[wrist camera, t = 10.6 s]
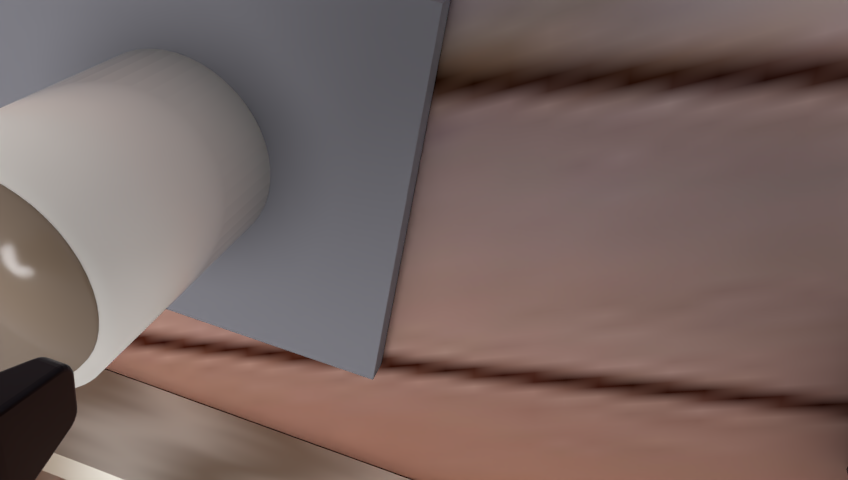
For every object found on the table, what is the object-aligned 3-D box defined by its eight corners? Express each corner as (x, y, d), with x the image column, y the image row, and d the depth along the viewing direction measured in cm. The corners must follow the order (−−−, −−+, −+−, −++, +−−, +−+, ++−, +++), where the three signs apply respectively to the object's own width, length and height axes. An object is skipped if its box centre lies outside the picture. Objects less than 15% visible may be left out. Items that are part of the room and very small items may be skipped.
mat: (451, -4, 18) (442, 3, 17) (381, 364, 24) (372, 379, 24) (-45, -131, 20) (-69, -129, 19) (11, 238, 27) (-6, 249, 26)
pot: (277, 81, 20) (103, 201, 14) (263, 267, 23) (118, 429, 17) (76, 24, 20) (-169, 112, 15) (90, 210, 24) (-106, 345, 18)
